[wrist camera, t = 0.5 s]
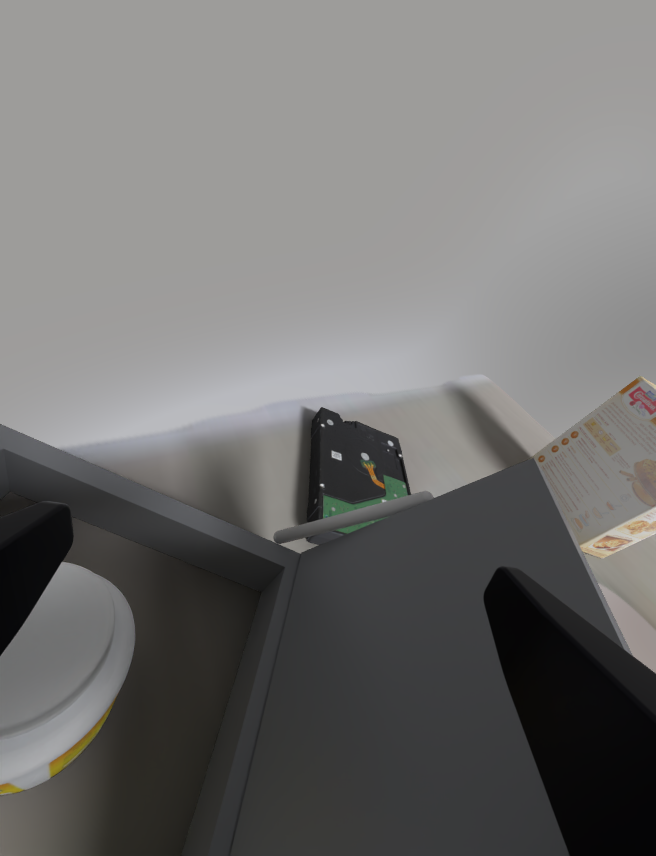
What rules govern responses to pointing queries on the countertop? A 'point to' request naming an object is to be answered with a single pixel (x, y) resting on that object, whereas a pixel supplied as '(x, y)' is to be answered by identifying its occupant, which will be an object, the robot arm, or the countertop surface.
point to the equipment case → (359, 663)
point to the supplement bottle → (62, 676)
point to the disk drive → (351, 470)
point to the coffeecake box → (608, 471)
